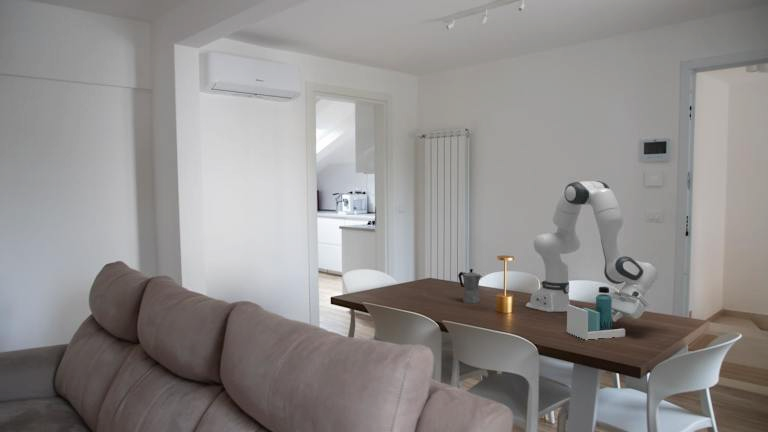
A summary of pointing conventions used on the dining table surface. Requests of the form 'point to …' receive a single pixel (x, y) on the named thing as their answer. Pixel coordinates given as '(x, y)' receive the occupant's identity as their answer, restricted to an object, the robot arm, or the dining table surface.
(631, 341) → the dining table surface
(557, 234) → the robot arm
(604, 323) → the beverage bottle
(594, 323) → the pusher
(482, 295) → the dining table surface
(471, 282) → the coffeepot
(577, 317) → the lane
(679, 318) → the dining table surface
